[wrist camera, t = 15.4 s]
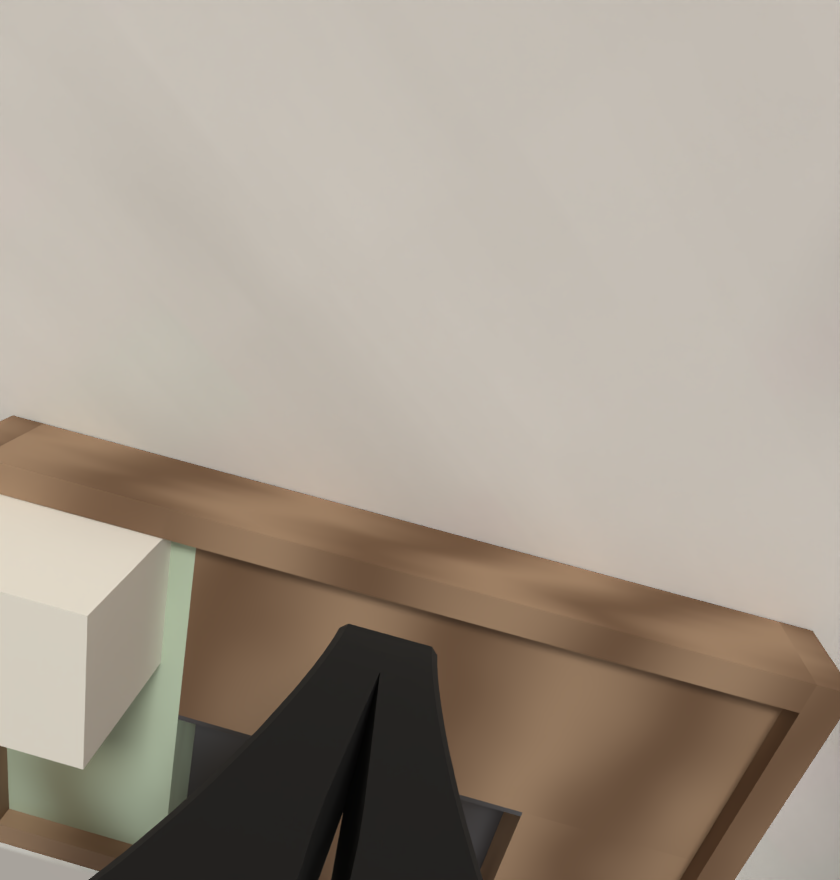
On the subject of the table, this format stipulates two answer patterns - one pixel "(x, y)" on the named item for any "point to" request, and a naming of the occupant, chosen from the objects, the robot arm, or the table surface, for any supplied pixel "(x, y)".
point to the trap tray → (459, 675)
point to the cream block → (74, 627)
